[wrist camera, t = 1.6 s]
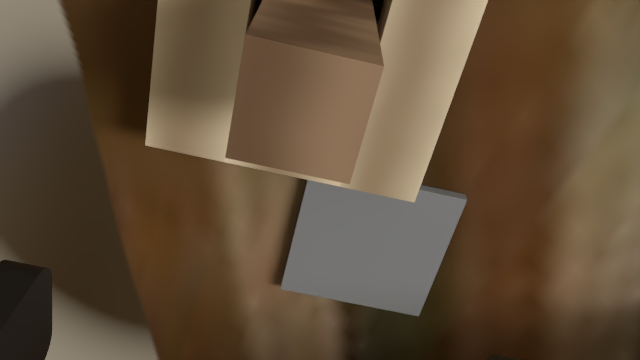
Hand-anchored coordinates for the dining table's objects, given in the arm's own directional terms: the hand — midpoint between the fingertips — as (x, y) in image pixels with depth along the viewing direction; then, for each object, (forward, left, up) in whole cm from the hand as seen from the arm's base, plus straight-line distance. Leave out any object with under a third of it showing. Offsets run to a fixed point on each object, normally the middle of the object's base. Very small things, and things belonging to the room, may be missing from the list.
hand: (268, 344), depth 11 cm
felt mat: (-6, +12, -21) cm, 25 cm away
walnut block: (0, 0, -22) cm, 22 cm away
